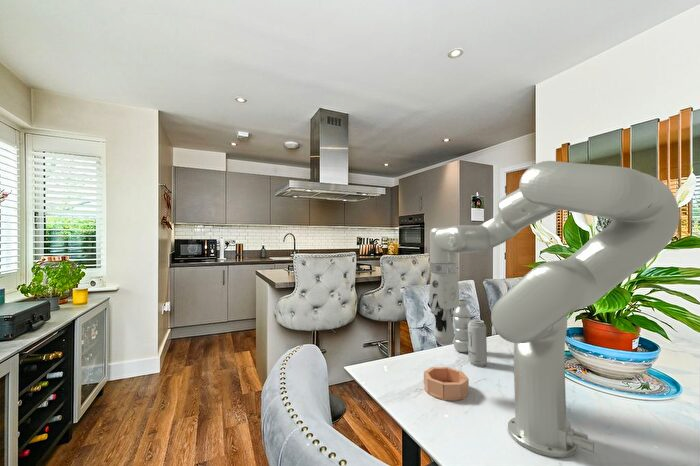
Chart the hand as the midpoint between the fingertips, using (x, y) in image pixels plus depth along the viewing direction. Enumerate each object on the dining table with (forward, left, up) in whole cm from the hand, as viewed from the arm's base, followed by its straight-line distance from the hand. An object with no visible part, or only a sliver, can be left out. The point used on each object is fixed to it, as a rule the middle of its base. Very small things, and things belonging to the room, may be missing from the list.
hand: (444, 331), depth 87 cm
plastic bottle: (+10, -33, -17) cm, 39 cm away
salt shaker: (0, 0, -3) cm, 3 cm away
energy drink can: (+1, -25, -17) cm, 31 cm away
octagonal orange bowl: (0, 0, -17) cm, 17 cm away
